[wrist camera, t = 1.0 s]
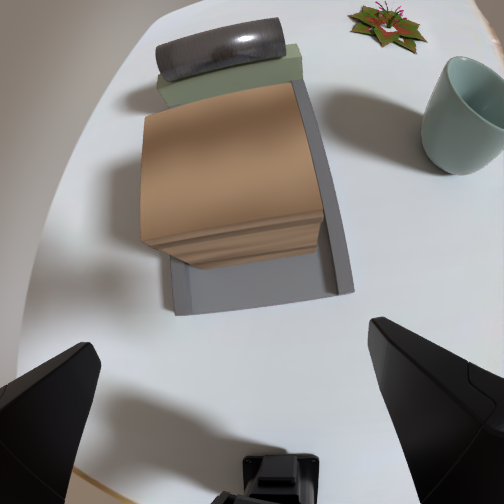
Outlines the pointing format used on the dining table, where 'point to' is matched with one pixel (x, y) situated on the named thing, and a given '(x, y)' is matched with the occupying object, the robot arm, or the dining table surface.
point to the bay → (331, 229)
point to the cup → (464, 117)
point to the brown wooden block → (230, 180)
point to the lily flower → (388, 26)
